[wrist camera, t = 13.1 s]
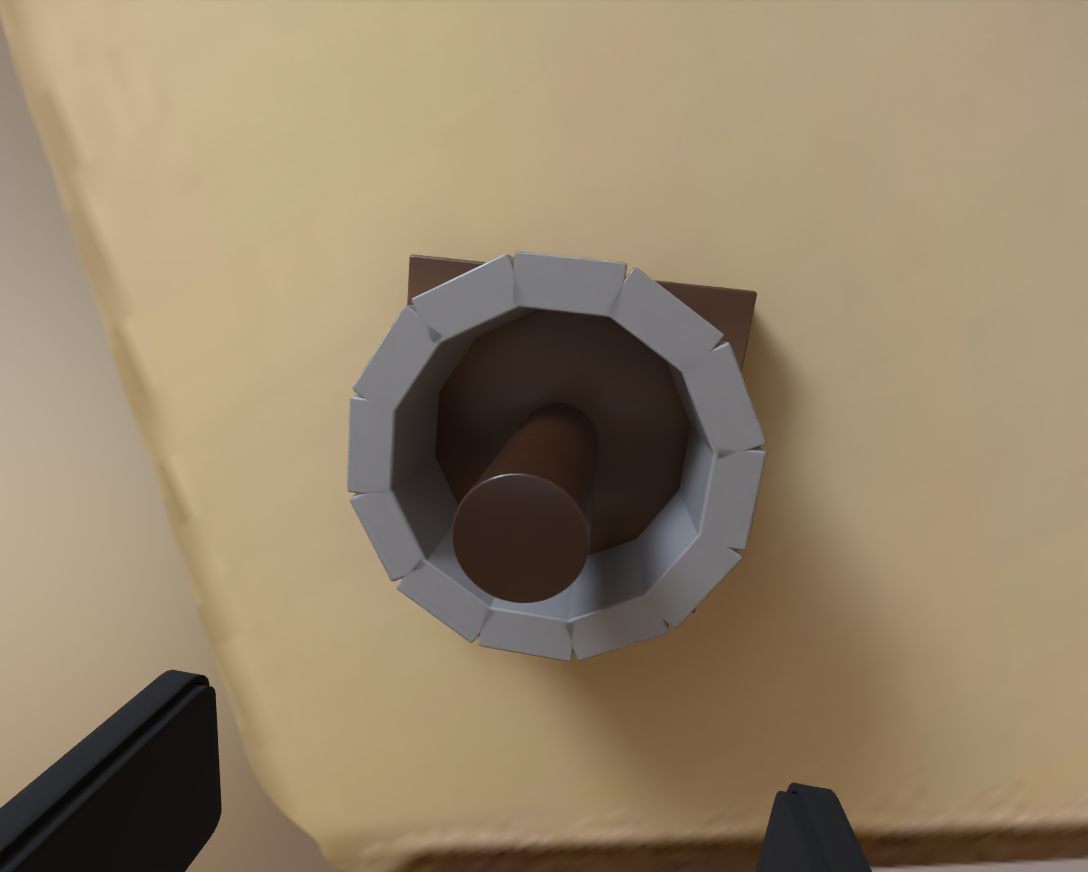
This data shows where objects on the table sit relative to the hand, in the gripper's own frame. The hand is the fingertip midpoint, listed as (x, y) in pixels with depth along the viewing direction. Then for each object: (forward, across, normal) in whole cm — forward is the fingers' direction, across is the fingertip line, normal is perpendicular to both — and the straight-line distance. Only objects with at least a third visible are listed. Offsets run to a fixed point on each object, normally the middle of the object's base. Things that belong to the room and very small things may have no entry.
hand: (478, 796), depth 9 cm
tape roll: (+9, 0, -4) cm, 10 cm away
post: (+10, 0, -4) cm, 11 cm away
